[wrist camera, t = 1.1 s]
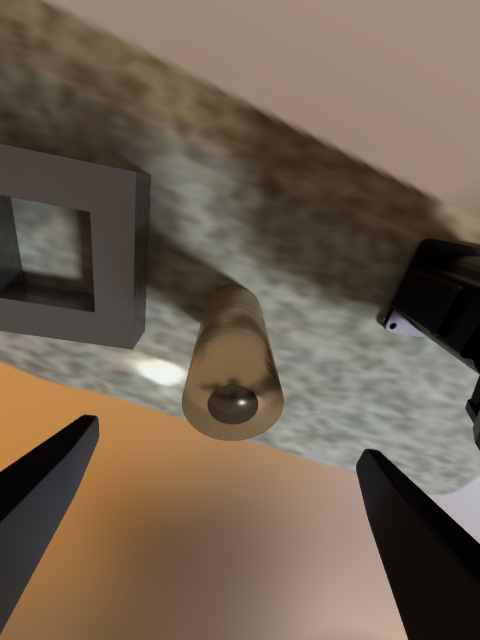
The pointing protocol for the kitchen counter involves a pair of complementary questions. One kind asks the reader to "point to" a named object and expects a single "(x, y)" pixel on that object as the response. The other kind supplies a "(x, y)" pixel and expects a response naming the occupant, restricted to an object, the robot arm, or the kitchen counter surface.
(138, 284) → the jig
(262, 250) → the kitchen counter surface
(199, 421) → the bushing
